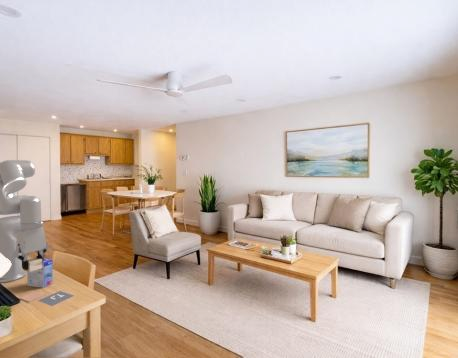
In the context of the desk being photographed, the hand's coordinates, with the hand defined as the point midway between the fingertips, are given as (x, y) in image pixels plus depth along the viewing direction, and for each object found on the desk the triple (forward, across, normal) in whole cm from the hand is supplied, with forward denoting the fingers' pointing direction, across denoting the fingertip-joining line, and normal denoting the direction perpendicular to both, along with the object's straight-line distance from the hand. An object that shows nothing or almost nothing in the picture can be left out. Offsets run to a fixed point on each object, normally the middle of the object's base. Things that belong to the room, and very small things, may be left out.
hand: (32, 266), depth 120 cm
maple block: (+1, 0, 0) cm, 1 cm away
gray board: (+14, -4, +9) cm, 17 cm away
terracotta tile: (+14, 0, -1) cm, 14 cm away
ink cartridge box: (+14, -9, -11) cm, 20 cm away
